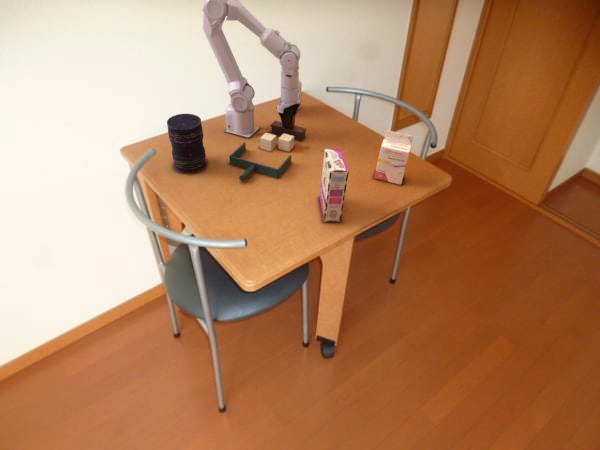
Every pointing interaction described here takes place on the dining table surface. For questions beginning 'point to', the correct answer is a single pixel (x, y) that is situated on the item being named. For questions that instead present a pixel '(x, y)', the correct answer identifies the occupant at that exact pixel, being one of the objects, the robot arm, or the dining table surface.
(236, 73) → the robot arm
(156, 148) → the dining table surface
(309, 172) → the dining table surface
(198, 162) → the storage jar
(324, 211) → the candy bar box
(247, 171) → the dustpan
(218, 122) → the dining table surface
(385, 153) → the ink cartridge box
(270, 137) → the beige cube
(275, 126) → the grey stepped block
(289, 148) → the cream white cube
